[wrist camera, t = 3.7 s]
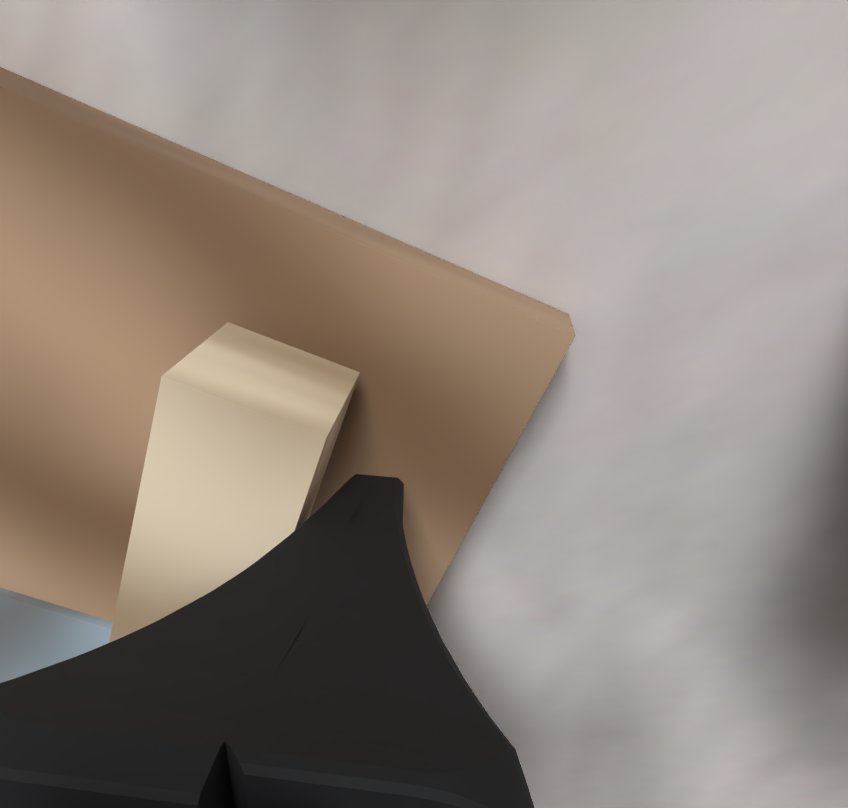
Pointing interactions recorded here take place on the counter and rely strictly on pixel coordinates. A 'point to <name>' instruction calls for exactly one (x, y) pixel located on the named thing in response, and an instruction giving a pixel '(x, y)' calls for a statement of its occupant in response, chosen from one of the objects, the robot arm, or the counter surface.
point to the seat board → (194, 323)
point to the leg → (227, 467)
